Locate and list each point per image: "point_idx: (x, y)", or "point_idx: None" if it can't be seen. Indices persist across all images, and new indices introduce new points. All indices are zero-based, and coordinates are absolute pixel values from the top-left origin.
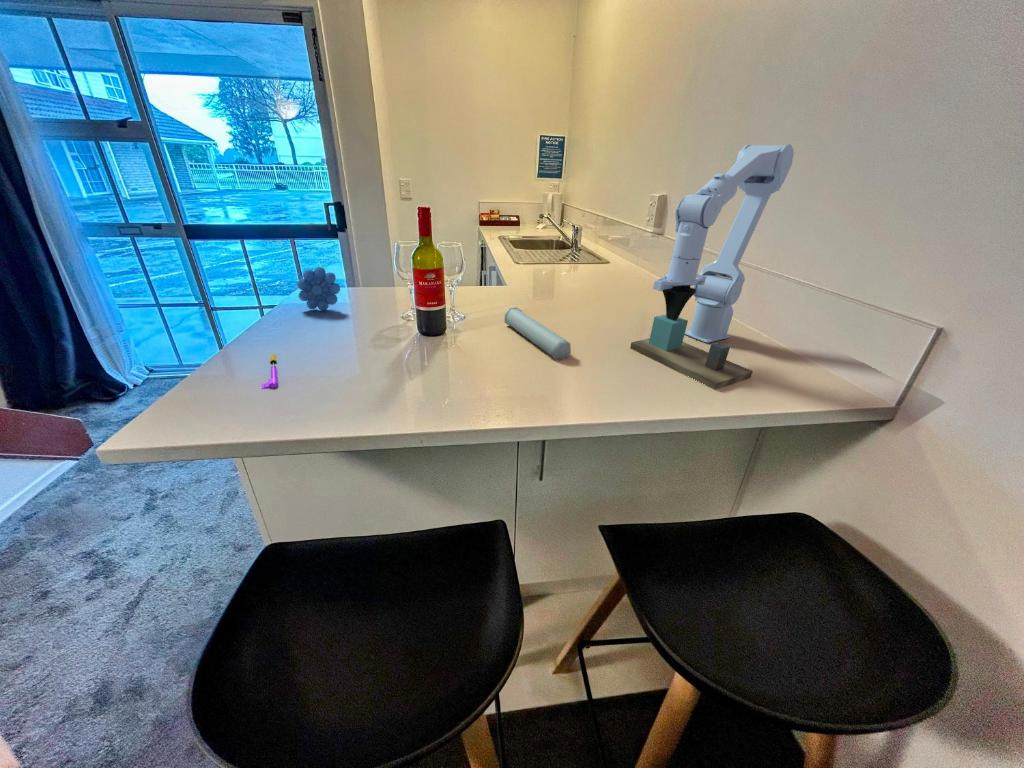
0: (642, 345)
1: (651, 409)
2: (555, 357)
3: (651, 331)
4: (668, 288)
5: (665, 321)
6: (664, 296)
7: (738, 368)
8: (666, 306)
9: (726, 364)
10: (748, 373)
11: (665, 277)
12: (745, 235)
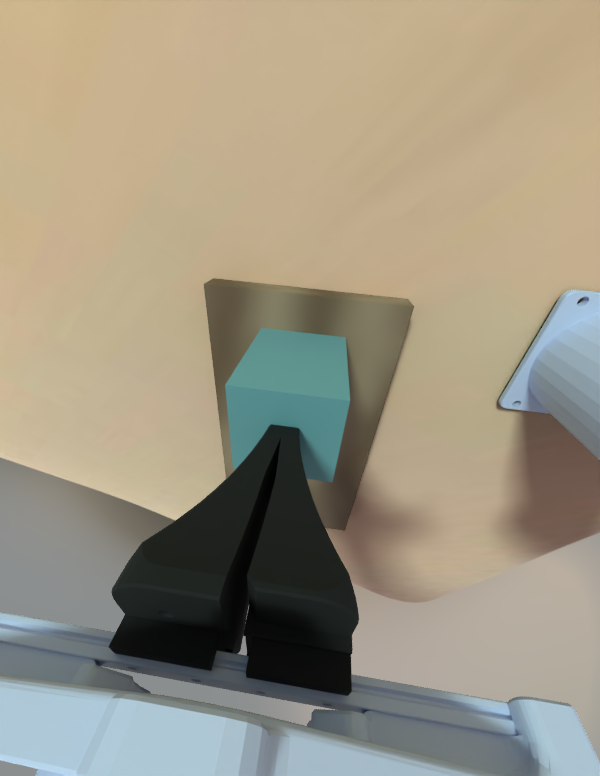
0: (224, 328)
1: (83, 473)
2: None
3: (249, 349)
4: (84, 637)
5: (230, 440)
6: (195, 507)
7: (332, 515)
8: (244, 462)
9: (330, 499)
10: (329, 526)
11: (15, 750)
12: None
